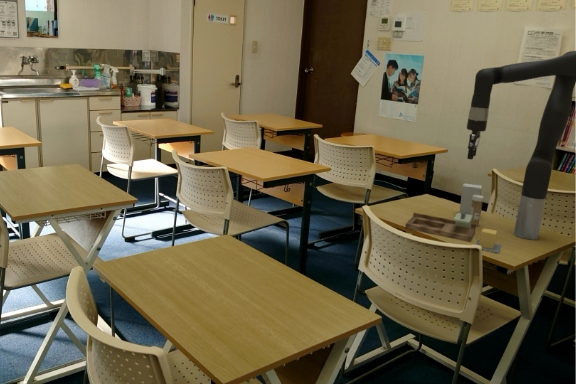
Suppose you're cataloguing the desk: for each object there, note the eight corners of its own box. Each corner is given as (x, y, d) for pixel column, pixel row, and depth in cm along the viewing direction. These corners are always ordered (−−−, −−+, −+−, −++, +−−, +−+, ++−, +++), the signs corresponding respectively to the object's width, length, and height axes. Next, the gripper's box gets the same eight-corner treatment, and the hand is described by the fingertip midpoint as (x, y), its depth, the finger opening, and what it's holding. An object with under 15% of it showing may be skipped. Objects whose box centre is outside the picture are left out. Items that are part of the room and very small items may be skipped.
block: (480, 242, 204) (483, 228, 203) (494, 245, 202) (496, 230, 201) (479, 246, 200) (481, 231, 198) (492, 249, 198) (495, 234, 196)
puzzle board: (474, 233, 216) (476, 224, 214) (470, 243, 204) (472, 233, 203) (412, 221, 226) (413, 212, 225) (405, 229, 215) (406, 220, 214)
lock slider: (470, 227, 215) (473, 209, 213) (467, 234, 206) (470, 215, 204) (455, 224, 218) (458, 206, 216) (451, 231, 208) (454, 212, 206)
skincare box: (477, 216, 241) (483, 185, 237) (476, 219, 235) (482, 188, 231) (459, 213, 244) (464, 182, 240) (457, 216, 238) (462, 185, 234)
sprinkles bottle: (477, 228, 223) (482, 198, 220) (466, 225, 226) (471, 196, 222) (479, 225, 227) (484, 195, 224) (468, 223, 229) (473, 193, 226)
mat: (501, 245, 204) (501, 244, 204) (499, 253, 195) (499, 252, 195) (474, 240, 208) (474, 239, 208) (471, 247, 199) (471, 246, 199)
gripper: (470, 116, 220) (464, 153, 225) (465, 119, 208) (459, 158, 212) (489, 118, 217) (482, 156, 222) (485, 121, 205) (478, 161, 209)
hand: (471, 157), depth 217 cm, fingers open, 8 cm apart
